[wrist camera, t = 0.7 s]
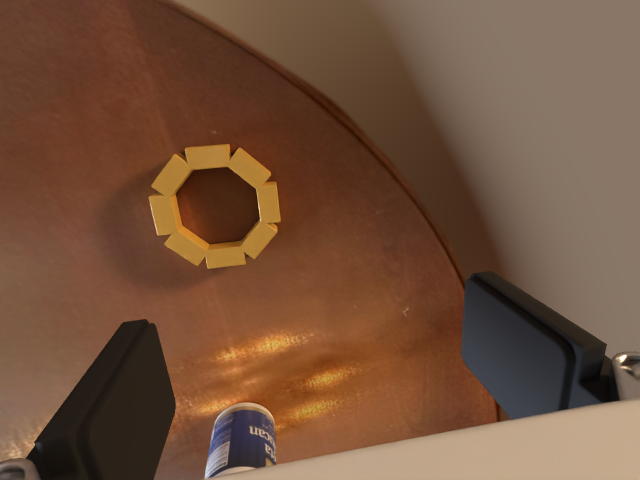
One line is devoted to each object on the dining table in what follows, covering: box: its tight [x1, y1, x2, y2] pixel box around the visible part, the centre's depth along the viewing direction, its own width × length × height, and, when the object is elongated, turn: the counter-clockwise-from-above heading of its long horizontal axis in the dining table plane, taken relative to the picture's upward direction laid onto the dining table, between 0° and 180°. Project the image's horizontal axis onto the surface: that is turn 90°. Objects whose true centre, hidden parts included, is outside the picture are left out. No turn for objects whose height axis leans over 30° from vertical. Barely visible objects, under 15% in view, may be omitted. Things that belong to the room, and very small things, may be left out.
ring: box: [149, 144, 281, 269], centre depth 25 cm, size 8×8×1 cm
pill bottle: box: [204, 402, 276, 479], centre depth 27 cm, size 5×5×10 cm
